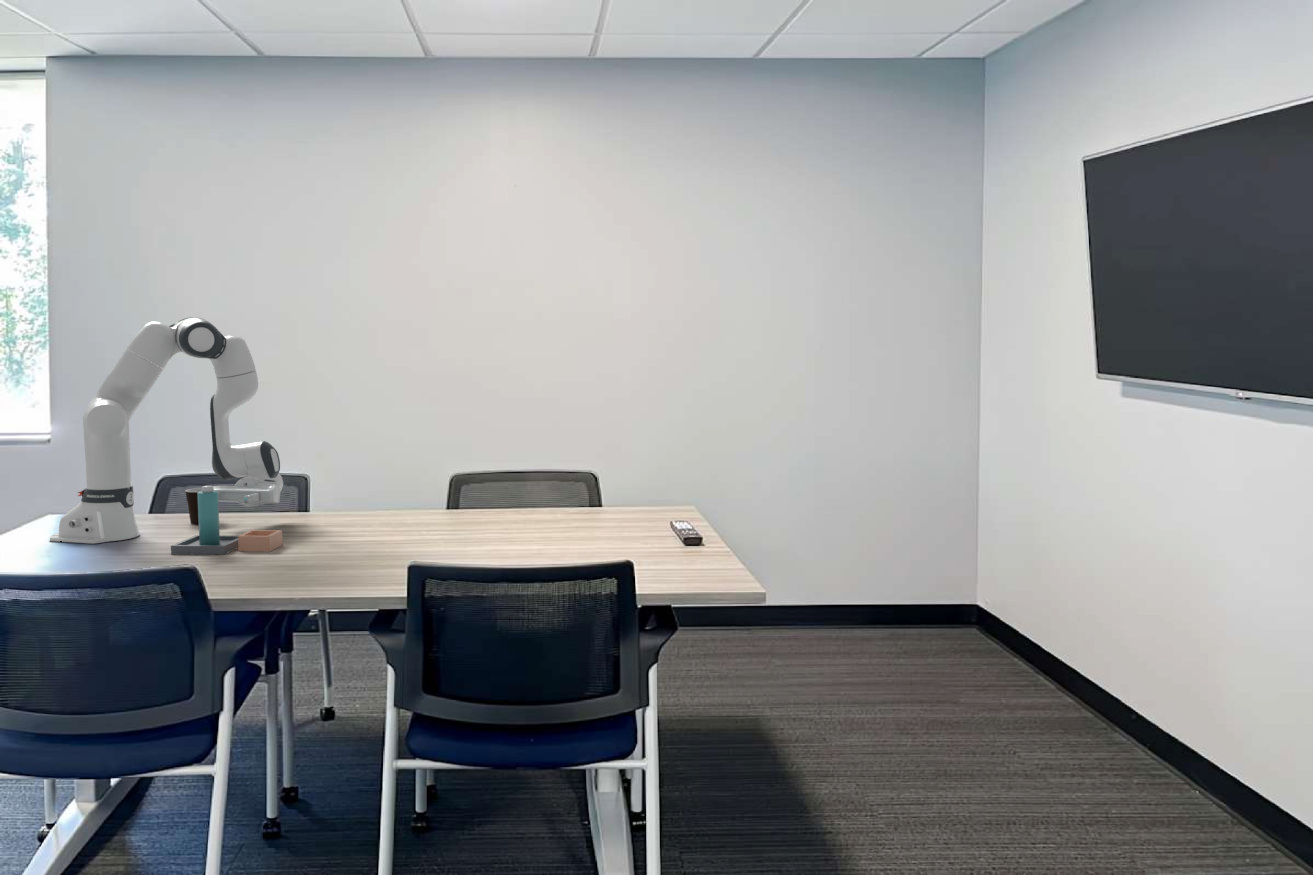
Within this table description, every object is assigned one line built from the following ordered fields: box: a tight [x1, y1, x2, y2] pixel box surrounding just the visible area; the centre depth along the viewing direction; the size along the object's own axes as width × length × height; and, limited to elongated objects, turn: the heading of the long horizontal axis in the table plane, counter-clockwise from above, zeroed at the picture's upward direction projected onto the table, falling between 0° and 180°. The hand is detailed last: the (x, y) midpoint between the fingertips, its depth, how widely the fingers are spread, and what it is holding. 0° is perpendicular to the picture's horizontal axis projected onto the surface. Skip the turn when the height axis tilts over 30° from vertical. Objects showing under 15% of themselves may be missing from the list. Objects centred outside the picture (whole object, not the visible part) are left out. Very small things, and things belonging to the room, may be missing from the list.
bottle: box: [198, 485, 221, 545], centre depth 281 cm, size 5×5×16 cm
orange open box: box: [237, 529, 283, 552], centre depth 284 cm, size 8×8×4 cm
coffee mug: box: [184, 487, 202, 526], centre depth 320 cm, size 12×9×10 cm
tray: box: [170, 534, 239, 555], centre depth 282 cm, size 14×14×2 cm
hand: (229, 498), depth 294 cm, fingers open, 8 cm apart
